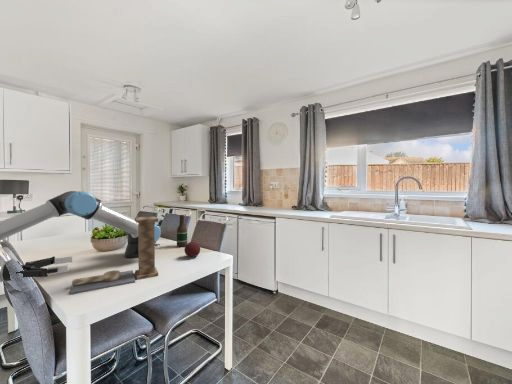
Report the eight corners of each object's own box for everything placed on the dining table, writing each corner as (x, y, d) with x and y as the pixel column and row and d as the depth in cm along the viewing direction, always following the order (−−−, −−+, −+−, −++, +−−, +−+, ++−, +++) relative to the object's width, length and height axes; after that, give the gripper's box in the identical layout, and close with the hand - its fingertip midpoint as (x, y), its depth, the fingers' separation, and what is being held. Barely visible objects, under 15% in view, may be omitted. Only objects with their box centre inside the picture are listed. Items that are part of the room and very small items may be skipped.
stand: (136, 279, 118) (136, 220, 117) (135, 273, 127) (134, 217, 126) (158, 275, 124) (158, 218, 122) (155, 269, 132) (155, 216, 131)
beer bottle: (178, 245, 184) (178, 214, 183) (188, 244, 184) (188, 214, 183) (175, 247, 176) (175, 215, 175) (186, 247, 177) (186, 215, 176)
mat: (70, 294, 102) (70, 292, 102) (75, 281, 116) (75, 279, 116) (135, 282, 115) (135, 280, 115) (132, 271, 129) (132, 270, 129)
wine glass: (150, 246, 177) (149, 227, 177) (149, 244, 184) (149, 225, 184) (161, 245, 181) (161, 226, 180) (160, 243, 188) (160, 224, 187)
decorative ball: (202, 255, 159) (203, 240, 158) (195, 260, 149) (195, 244, 149) (189, 254, 161) (189, 239, 161) (181, 258, 151) (181, 243, 151)
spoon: (71, 288, 106) (71, 282, 106) (73, 282, 112) (73, 276, 112) (120, 280, 116) (120, 274, 116) (119, 275, 122) (119, 269, 122)
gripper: (-9, 273, 86) (65, 263, 97) (15, 254, 107) (73, 248, 119) (-8, 293, 87) (65, 281, 98) (15, 271, 108) (73, 263, 119)
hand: (70, 263), depth 108 cm, fingers open, 13 cm apart
